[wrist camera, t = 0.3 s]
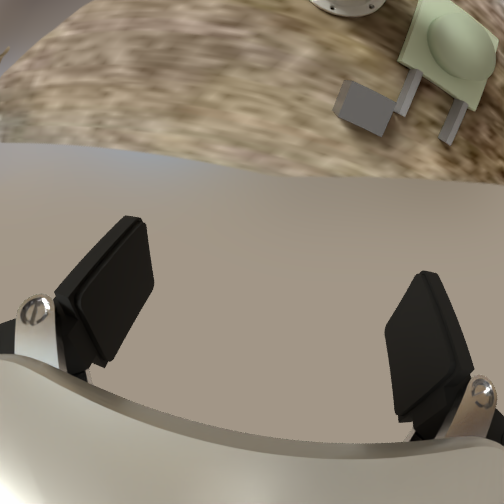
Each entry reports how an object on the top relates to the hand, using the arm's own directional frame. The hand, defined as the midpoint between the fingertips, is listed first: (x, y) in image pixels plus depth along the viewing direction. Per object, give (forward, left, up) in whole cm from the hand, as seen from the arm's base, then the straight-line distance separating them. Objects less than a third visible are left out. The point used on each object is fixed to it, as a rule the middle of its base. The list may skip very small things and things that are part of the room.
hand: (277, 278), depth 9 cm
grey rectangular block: (-6, +7, -34) cm, 36 cm away
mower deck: (-18, +17, -34) cm, 42 cm away
